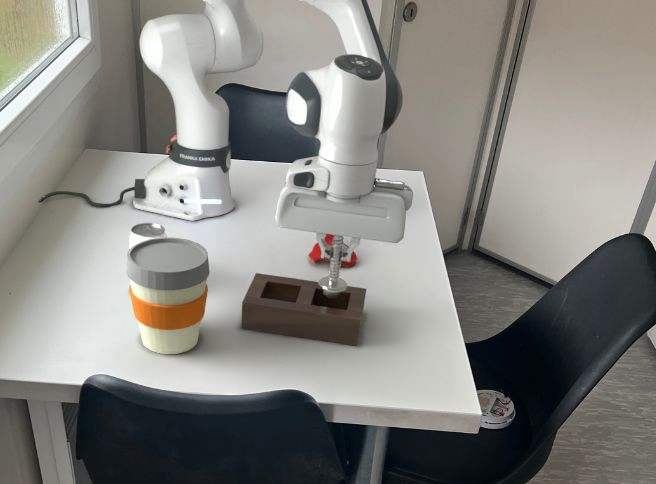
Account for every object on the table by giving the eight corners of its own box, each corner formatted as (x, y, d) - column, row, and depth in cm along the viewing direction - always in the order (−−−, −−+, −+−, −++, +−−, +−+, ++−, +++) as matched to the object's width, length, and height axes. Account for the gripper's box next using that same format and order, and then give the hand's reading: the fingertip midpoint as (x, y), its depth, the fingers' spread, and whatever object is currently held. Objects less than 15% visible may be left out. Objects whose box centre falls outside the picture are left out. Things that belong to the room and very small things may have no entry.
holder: (356, 346, 119) (360, 319, 117) (240, 328, 122) (242, 302, 119) (362, 313, 128) (366, 288, 125) (254, 297, 131) (255, 272, 128)
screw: (334, 285, 124) (351, 298, 121) (311, 291, 122) (328, 304, 118) (343, 213, 116) (362, 224, 113) (318, 218, 114) (337, 229, 111)
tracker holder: (368, 258, 144) (331, 257, 138) (358, 276, 146) (321, 276, 140) (336, 223, 150) (299, 220, 144) (327, 241, 153) (290, 239, 147)
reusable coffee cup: (142, 366, 111) (137, 278, 102) (122, 326, 120) (116, 242, 111) (220, 352, 115) (221, 266, 107) (194, 314, 125) (194, 232, 116)
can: (139, 303, 126) (136, 239, 119) (127, 287, 131) (123, 224, 124) (174, 297, 129) (173, 234, 122) (161, 281, 134) (159, 219, 127)
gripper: (415, 176, 111) (401, 259, 119) (283, 160, 113) (278, 242, 121) (414, 190, 106) (399, 276, 114) (276, 173, 108) (270, 258, 116)
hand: (335, 258), depth 117 cm, fingers closed on screw, 2 cm apart
